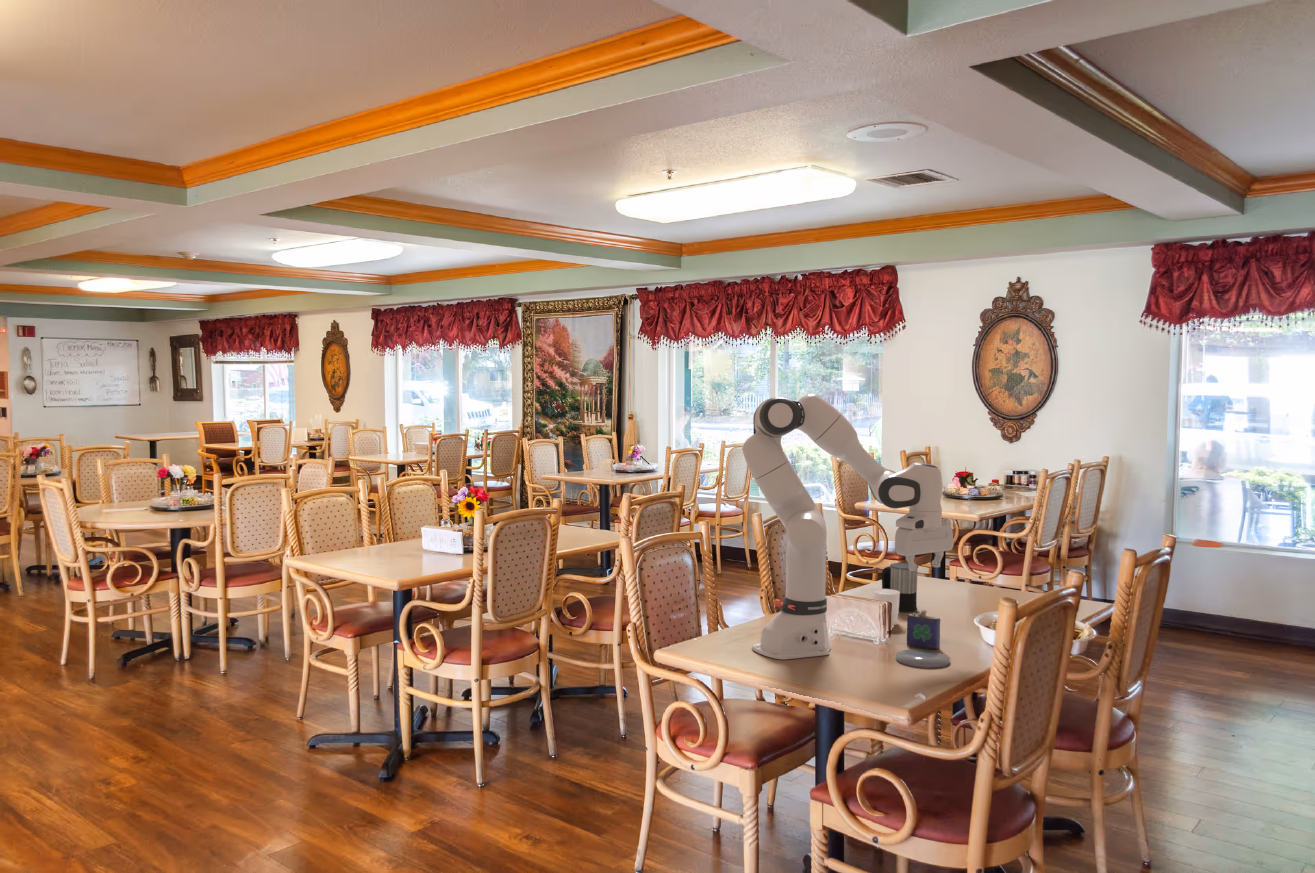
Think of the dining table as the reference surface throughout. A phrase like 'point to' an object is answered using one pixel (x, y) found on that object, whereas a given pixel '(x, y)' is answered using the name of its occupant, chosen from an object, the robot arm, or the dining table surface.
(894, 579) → the milk frother
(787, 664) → the dining table surface
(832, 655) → the dining table surface
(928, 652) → the plate
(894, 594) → the white cup
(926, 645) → the flask
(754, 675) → the dining table surface
